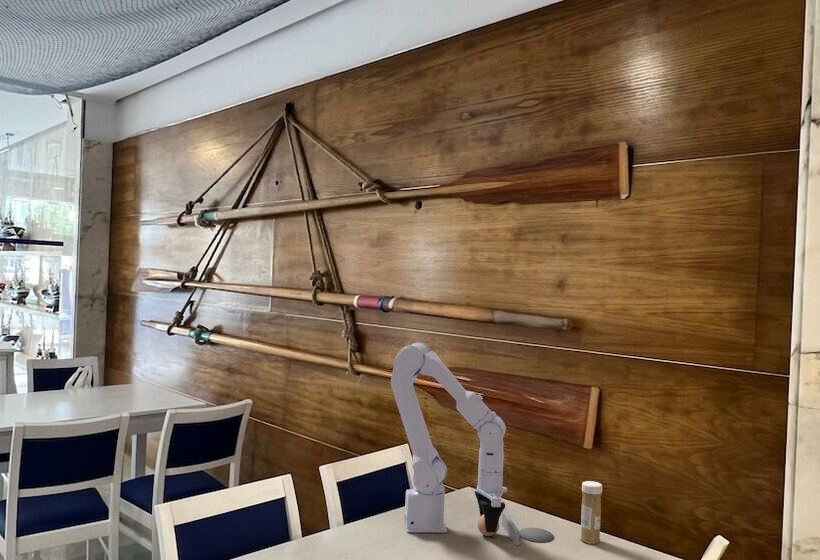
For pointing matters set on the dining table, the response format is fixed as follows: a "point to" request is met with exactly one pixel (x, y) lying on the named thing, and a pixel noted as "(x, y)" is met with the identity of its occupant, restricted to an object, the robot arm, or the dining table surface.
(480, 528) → the terracotta ball
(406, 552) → the dining table surface
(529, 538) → the pad
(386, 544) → the dining table surface
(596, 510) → the spice jar
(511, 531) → the acrylic wall
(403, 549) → the dining table surface
